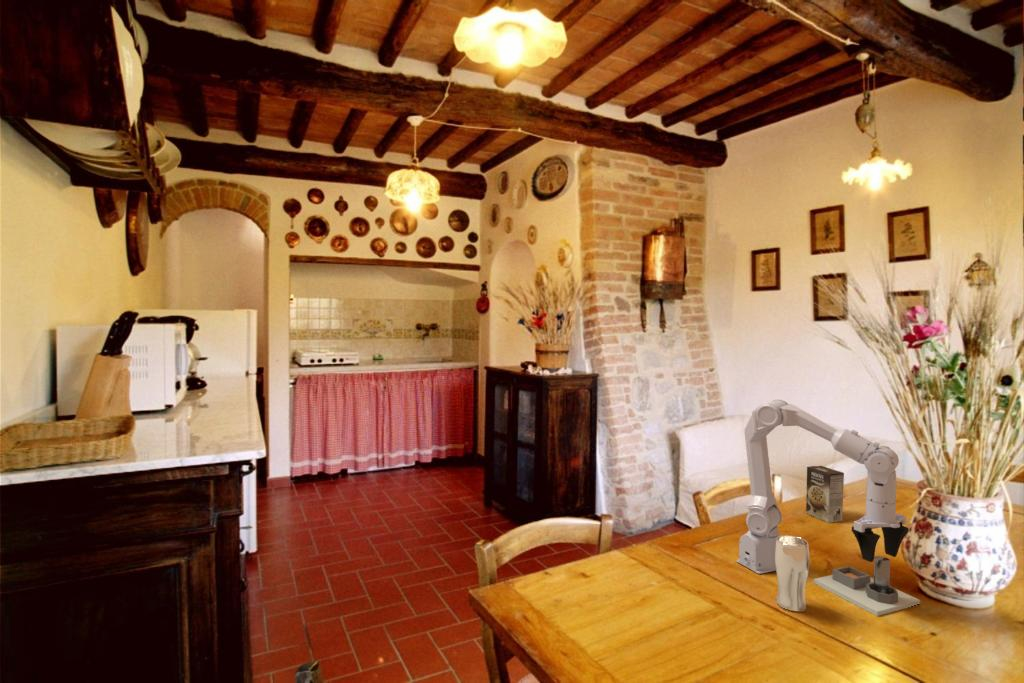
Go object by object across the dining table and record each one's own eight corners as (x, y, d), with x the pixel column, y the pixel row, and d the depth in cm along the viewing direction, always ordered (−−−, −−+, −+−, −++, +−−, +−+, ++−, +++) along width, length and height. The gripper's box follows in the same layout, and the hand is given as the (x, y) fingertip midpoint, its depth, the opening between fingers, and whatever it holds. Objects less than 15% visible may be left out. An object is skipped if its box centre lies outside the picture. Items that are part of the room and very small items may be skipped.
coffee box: (804, 513, 181) (805, 466, 180) (819, 511, 183) (820, 464, 182) (828, 523, 172) (829, 473, 172) (843, 521, 174) (844, 472, 173)
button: (852, 586, 129) (852, 581, 129) (839, 579, 132) (839, 575, 132) (863, 583, 130) (863, 579, 130) (849, 577, 133) (849, 572, 133)
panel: (877, 616, 118) (877, 600, 118) (813, 582, 133) (813, 569, 133) (920, 604, 123) (920, 589, 123) (854, 573, 138) (854, 560, 138)
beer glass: (790, 615, 118) (791, 548, 118) (767, 599, 125) (768, 536, 124) (815, 610, 120) (816, 545, 120) (791, 595, 127) (792, 533, 126)
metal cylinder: (882, 601, 122) (883, 562, 122) (870, 594, 125) (871, 557, 125) (892, 599, 123) (893, 560, 123) (880, 593, 126) (880, 555, 126)
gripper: (875, 509, 118) (873, 570, 119) (920, 501, 123) (918, 560, 123) (845, 499, 125) (844, 556, 125) (889, 492, 130) (888, 547, 130)
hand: (879, 557), depth 125 cm, fingers open, 7 cm apart
